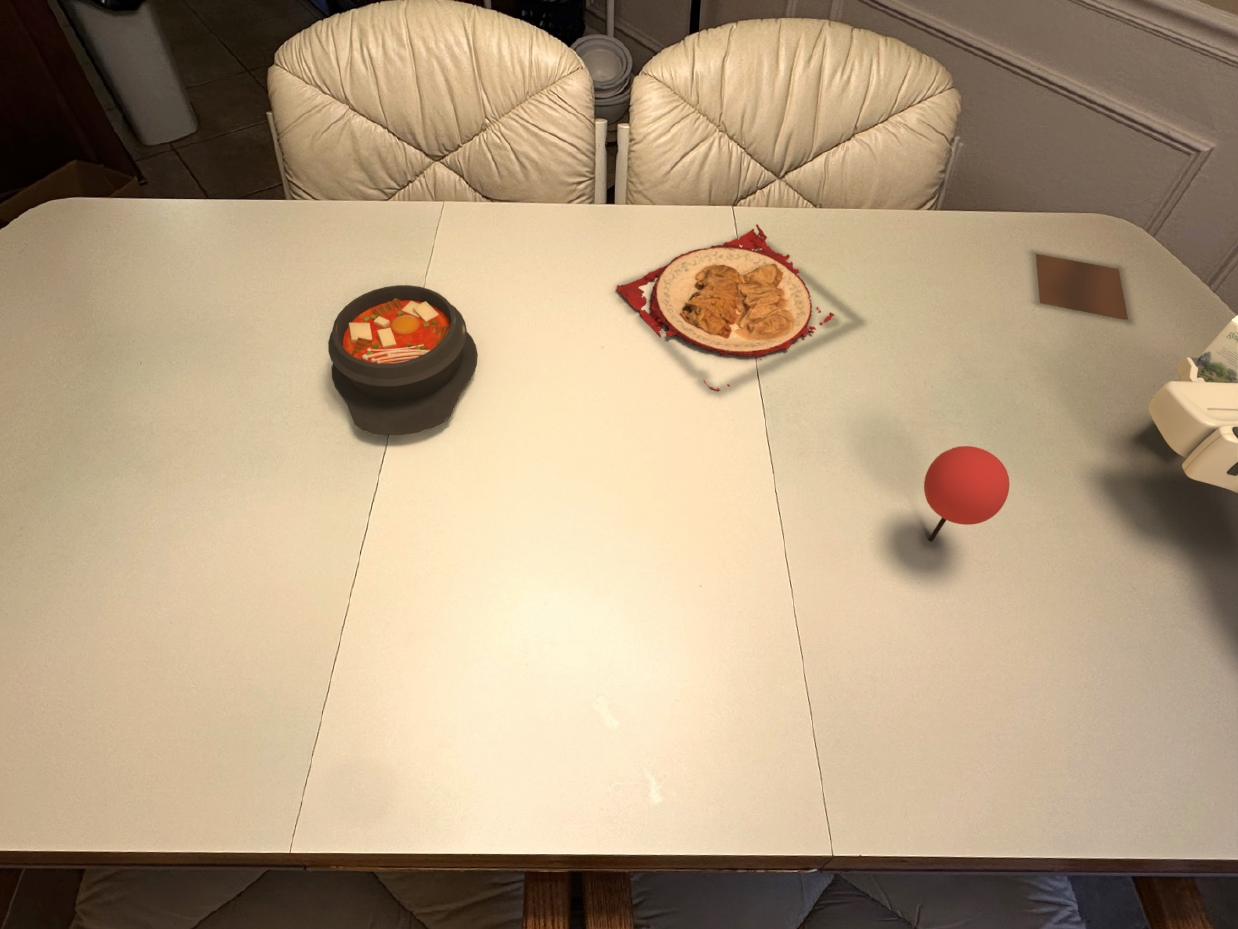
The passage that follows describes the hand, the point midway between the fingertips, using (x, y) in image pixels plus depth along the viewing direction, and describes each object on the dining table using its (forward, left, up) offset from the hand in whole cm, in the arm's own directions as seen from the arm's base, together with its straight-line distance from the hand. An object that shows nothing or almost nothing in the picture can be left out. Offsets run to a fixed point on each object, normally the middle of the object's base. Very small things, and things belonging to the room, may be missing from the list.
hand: (1226, 362), depth 82 cm
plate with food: (+55, -8, -14) cm, 57 cm away
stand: (+7, -28, -14) cm, 32 cm away
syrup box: (0, +1, -8) cm, 8 cm away
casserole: (+94, +17, -14) cm, 96 cm away
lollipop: (+27, +24, -14) cm, 39 cm away
